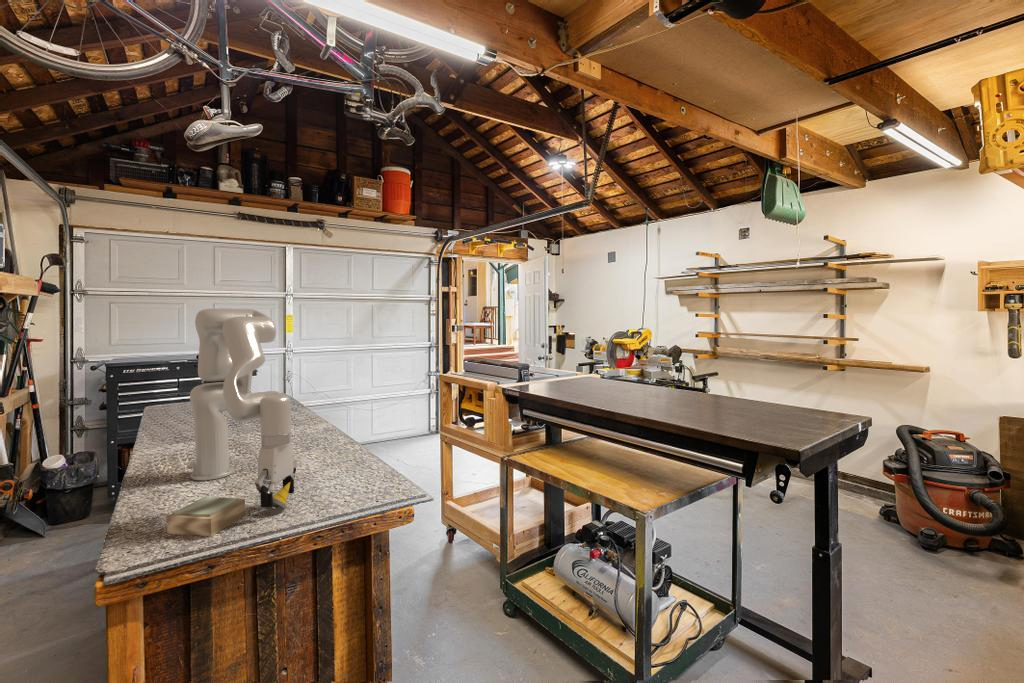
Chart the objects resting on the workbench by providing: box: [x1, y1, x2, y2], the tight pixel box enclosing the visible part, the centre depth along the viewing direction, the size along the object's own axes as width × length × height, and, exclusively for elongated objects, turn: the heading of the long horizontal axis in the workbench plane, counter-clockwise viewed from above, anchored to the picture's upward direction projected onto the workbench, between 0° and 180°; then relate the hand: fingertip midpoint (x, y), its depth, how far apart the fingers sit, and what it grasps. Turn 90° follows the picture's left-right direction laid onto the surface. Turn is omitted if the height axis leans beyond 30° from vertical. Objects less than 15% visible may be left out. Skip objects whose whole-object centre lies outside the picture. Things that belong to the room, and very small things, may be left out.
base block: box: [166, 496, 246, 537], centre depth 118 cm, size 12×12×5 cm
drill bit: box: [264, 482, 290, 516], centre depth 126 cm, size 5×5×10 cm
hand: (278, 499), depth 126 cm, fingers open, 9 cm apart
